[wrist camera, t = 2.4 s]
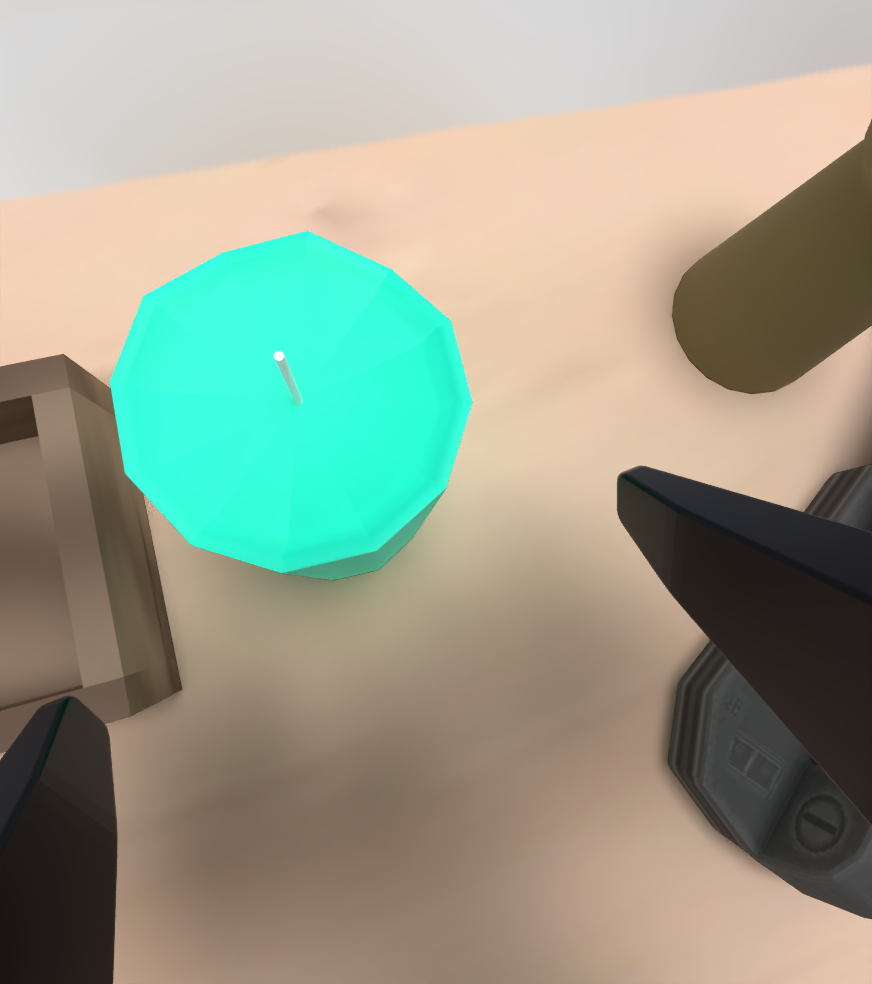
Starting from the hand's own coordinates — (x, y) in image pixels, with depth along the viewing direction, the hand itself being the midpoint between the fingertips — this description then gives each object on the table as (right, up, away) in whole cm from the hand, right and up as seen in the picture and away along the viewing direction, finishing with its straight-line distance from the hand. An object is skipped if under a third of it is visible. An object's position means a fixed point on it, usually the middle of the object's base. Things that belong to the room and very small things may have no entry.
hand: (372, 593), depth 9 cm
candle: (-2, +2, +11) cm, 11 cm away
